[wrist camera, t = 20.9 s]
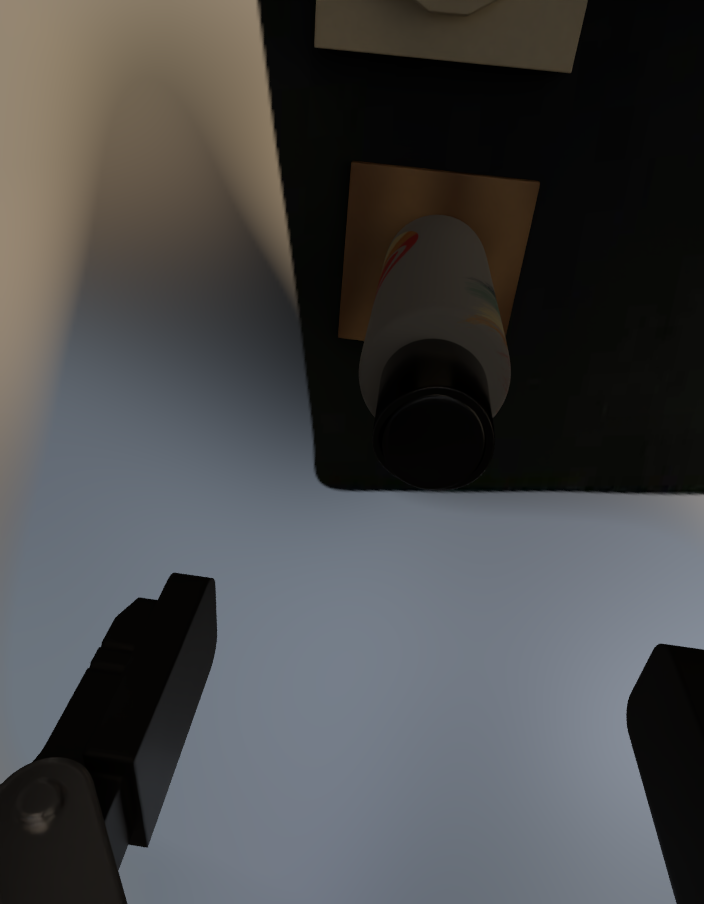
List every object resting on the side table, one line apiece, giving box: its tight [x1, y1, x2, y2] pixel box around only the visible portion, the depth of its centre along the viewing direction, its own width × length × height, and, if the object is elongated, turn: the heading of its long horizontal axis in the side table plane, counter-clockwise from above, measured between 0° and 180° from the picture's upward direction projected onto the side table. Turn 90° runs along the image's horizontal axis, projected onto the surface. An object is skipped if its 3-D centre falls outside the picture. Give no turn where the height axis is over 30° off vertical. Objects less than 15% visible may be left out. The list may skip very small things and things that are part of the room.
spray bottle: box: [359, 215, 511, 490], centre depth 28 cm, size 6×6×20 cm
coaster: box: [338, 161, 540, 341], centre depth 37 cm, size 10×10×1 cm
